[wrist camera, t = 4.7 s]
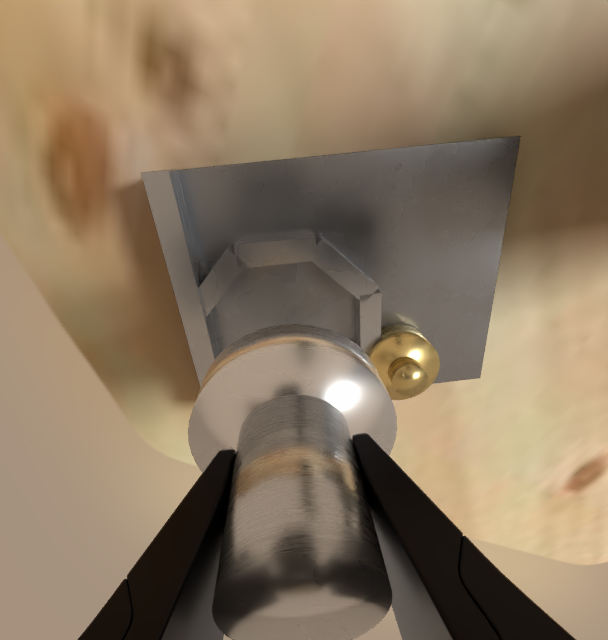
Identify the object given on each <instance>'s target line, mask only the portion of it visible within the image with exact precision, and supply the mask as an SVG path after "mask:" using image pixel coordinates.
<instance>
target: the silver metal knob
mask: <svg viewBox="0 0 608 640" xmlns="http://www.w3.org/2000/svg"><path fill="white" fill-rule="evenodd" d="M396 431H397V418H396V413H395V408H394V405H393V403H392V400H391V398H390V396H389V394H388V392H387V389H386V387H385V385H384V383H383V381H382V379H381V377H380V375H379V373H378V371H377V369H376V367H375V365H374V364H373V362H372V360H371V359H370V357H369V356H368V355H367V354H366V353H365V352H364V350H363V349H361V348H360V347H359V346H358V345H357V344H356V343H354V342H353V341H351V340H350V339H348V338H347V337H345V336H343V335H341V334H339V333H337V332H335V331H332V330H329V329H326V328H323V327H318V326H313V325H305V324H283V325H277V326H271V327H267V328H263V329H260V330H257V331H254V332H252V333H250V334H247V335H245V336H243V337H241V338H240V339H238V340H236V341H235V342H233V343H232V344H231V345H229V346H228V347H227V348H226V349H224V350H223V351H222V352H221V353H220V354H219V356H218V357H217V358H216V359H215V360H214V362H213V363H212V364H211V366H210V367H209V369H208V371H207V373H206V375H205V377H204V380H203V383H202V386H201V388H200V391H199V394H198V397H197V399H196V402H195V405H194V407H193V410H192V414H191V417H190V420H189V428H188V437H189V445H190V449H191V453H192V455H193V458H194V460H195V462H196V464H197V465H198V467H199V468H200V470H201V471H202V472H204V471H205V469H206V468H207V466H208V465H209V464H210V462H211V461H212V460H213V458H214V457H215V456H216V454H217V453H218V452H219V451H220V450H226V449H234V450H235V451H236V458H235V464H234V470H233V477H232V483H231V489H230V496H229V502H228V509H227V515H226V521H225V528H224V534H223V541H222V547H221V553H220V560H219V566H218V573H217V579H216V585H215V592H214V598H213V604H212V616H213V619H214V622H215V623H216V625H217V627H218V628H219V629H220V630H221V631H222V632H223V633H224V634H225V635H226V636H227V637H229V638H231V639H232V640H353V639H355V638H357V637H359V636H361V635H362V634H364V633H366V632H367V631H369V630H370V629H372V628H373V627H375V626H376V625H377V624H378V623H379V622H380V621H381V620H382V619H383V618H384V617H385V615H386V614H387V612H388V611H389V608H390V606H391V603H392V589H391V585H390V581H389V578H388V574H387V570H386V566H385V563H384V559H383V555H382V551H381V547H380V544H379V540H378V536H377V532H376V529H375V525H374V521H373V517H372V514H371V510H370V506H369V502H368V498H367V495H366V491H365V487H364V484H363V480H362V476H361V472H360V469H359V465H358V461H357V457H356V453H355V450H354V446H353V442H352V436H353V435H354V434H360V433H367V434H369V435H370V436H371V438H372V439H373V440H374V441H375V442H376V443H377V444H378V445H379V446H380V447H381V448H382V449H383V450H384V451H385V452H386V453H387V454H388V455H389V454H390V452H391V450H392V448H393V445H394V442H395V438H396Z"/></svg>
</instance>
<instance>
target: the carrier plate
mask: <svg viewBox="0 0 608 640" xmlns="http://www.w3.org/2000/svg"><path fill="white" fill-rule="evenodd" d="M519 142H520V136H513V137H503V138H493V139H483V140H473V141H463V142H453V143H443V144H433V145H423V146H413V147H403V148H393V149H383V150H373V151H363V152H353V153H343V154H333V155H323V156H313V157H303V158H293V159H283V160H273V161H263V162H253V163H243V164H233V165H223V166H213V167H203V168H193V169H183V170H163V171H153V172H143V173H141V175H142V179H143V182H144V186H145V190H146V193H147V197H148V200H149V204H150V208H151V211H152V215H153V218H154V222H155V226H156V229H157V233H158V236H159V240H160V244H161V247H162V251H163V254H164V258H165V262H166V265H167V269H168V272H169V276H170V280H171V283H172V287H173V290H174V294H175V298H176V301H177V305H178V308H179V312H180V316H181V319H182V323H183V327H184V330H185V334H186V337H187V341H188V345H189V348H190V352H191V355H192V359H193V363H194V366H195V370H196V373H197V377H198V381H199V384H200V388H201V386H202V383H203V380H204V377H205V375H206V373H207V371H208V369H209V367H210V366H211V364H212V363H213V362H214V360H215V359H216V358H217V357H218V356H219V354H220V353H221V352H222V351H223V350H224V349H226V348H227V347H228V346H229V345H231V344H232V343H233V342H235V341H236V340H238V339H240V338H241V337H243V336H245V335H247V334H250V333H252V332H254V331H257V330H260V329H263V328H267V327H271V326H277V325H283V324H305V325H313V326H318V327H323V328H326V329H329V330H332V331H335V332H337V333H339V334H341V335H343V336H345V337H347V338H348V339H350V340H351V341H353V342H354V343H356V344H357V345H358V346H359V347H360V348H361V349H363V350H364V352H365V353H366V354H367V355H368V356H369V357H370V359H371V360H372V362H373V364H374V365H375V367H376V369H377V371H378V373H379V375H380V377H381V379H382V381H383V383H384V385H385V387H386V389H387V392H388V394H389V396H390V398H391V400H403V399H408V398H412V397H414V396H417V395H419V394H420V393H422V392H424V391H425V390H426V389H427V388H428V387H429V386H430V385H431V384H433V383H442V382H450V381H459V380H467V379H476V378H480V375H481V369H482V363H483V357H484V351H485V345H486V339H487V334H488V328H489V322H490V316H491V310H492V304H493V298H494V292H495V286H496V280H497V274H498V268H499V262H500V256H501V250H502V244H503V238H504V232H505V226H506V220H507V214H508V208H509V202H510V196H511V190H512V184H513V178H514V172H515V166H516V160H517V154H518V148H519Z"/></svg>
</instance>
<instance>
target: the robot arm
mask: <svg viewBox="0 0 608 640" xmlns="http://www.w3.org/2000/svg"><path fill="white" fill-rule="evenodd" d="M352 442H353V446H354V450H355V453H356V457H357V461H358V465H359V469H360V472H361V476H362V480H363V484H364V487H365V491H366V495H367V498H368V502H369V506H370V510H371V514H372V517H373V521H374V525H375V529H376V532H377V536H378V540H379V544H380V547H381V551H382V555H383V559H384V563H385V566H386V570H387V574H388V578H389V581H390V585H391V589H392V603H391V605H392V608H393V611H394V614H395V617H396V620H397V624H398V627H399V630H400V633H401V636H402V640H576V639H575V638H574V637H572V636H571V635H570V634H569V633H568V632H567V631H566V630H565V629H563V628H562V627H561V626H560V625H559V624H558V623H557V622H555V621H554V620H553V619H552V618H551V617H550V616H549V615H548V614H547V613H545V612H544V611H543V610H542V609H541V608H540V607H539V606H537V605H536V604H535V603H534V602H533V601H532V600H531V599H530V598H529V597H527V596H526V595H525V594H524V593H523V592H522V591H521V590H520V589H519V588H518V587H516V586H515V585H514V584H513V583H512V582H511V581H510V580H509V579H508V578H507V577H506V576H505V575H503V574H502V573H501V572H500V571H499V570H498V569H497V568H496V567H495V566H494V565H493V564H492V563H491V562H490V561H489V560H488V559H487V558H486V557H485V556H484V555H483V554H482V553H481V552H480V551H479V549H478V548H477V547H476V546H475V545H474V544H473V543H472V542H471V541H470V540H469V539H468V538H467V537H466V536H463V533H462V532H461V531H460V530H459V529H458V528H457V527H456V525H455V524H454V523H453V522H452V521H451V520H450V519H449V518H448V517H447V516H446V515H445V514H444V513H443V512H442V511H441V510H440V509H439V508H438V507H437V506H436V505H435V503H434V502H433V501H432V500H431V499H430V498H429V497H428V496H427V495H426V494H425V493H424V492H423V491H422V490H421V489H420V488H419V487H418V486H417V485H416V484H415V483H414V481H413V480H412V479H411V478H410V477H409V476H408V475H407V474H406V473H405V472H404V471H403V470H402V469H401V468H400V467H399V466H398V465H397V464H396V463H395V462H394V461H393V460H392V458H391V457H390V456H389V455H388V454H387V453H386V452H385V451H384V450H383V449H382V448H381V447H380V446H379V445H378V444H377V443H376V442H375V441H374V440H373V439H372V438H371V436H370V435H369V434H367V433H360V434H354V435H353V436H352ZM235 458H236V451H235V450H234V449H226V450H220V451H219V452H218V453H217V454H216V456H215V457H214V458H213V460H212V461H211V462H210V464H209V465H208V466H207V468H206V469H205V471H204V472H203V473H202V475H201V476H200V477H199V479H198V480H197V481H196V483H195V484H194V485H193V487H192V488H191V489H190V491H189V492H188V494H187V495H186V496H185V498H184V499H183V500H182V502H181V503H180V504H179V506H178V507H177V508H176V510H175V511H174V513H173V514H172V515H171V517H170V518H169V519H168V521H167V522H166V523H165V525H164V526H163V527H162V529H161V530H160V532H159V533H158V534H157V536H156V537H155V538H154V540H153V541H152V542H151V544H150V545H149V546H148V548H147V549H146V550H145V552H144V553H143V555H142V556H141V557H140V559H139V560H138V561H137V563H136V564H135V565H134V567H133V568H132V570H131V571H130V572H129V574H128V575H127V579H124V580H123V581H122V583H121V584H120V585H119V587H118V588H117V589H116V591H115V592H114V594H113V595H112V596H111V598H110V599H109V600H108V601H107V603H106V604H105V606H104V607H103V608H102V609H101V611H100V612H99V613H98V615H97V616H96V617H95V618H94V620H93V621H92V622H91V624H90V625H89V626H88V627H87V629H86V630H85V631H84V632H83V634H82V635H81V636H80V637H79V638H78V640H223V636H224V633H223V632H222V631H221V630H220V629H219V628H218V627H217V625H216V623H215V622H214V619H213V616H212V604H213V598H214V592H215V585H216V579H217V573H218V566H219V560H220V553H221V547H222V541H223V534H224V528H225V521H226V515H227V509H228V502H229V496H230V489H231V483H232V477H233V470H234V464H235Z"/></svg>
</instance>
